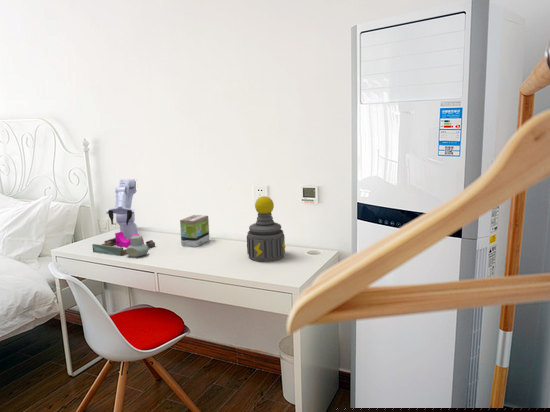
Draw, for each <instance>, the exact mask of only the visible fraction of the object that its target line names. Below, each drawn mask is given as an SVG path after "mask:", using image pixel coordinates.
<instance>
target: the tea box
mask: <svg viewBox="0 0 550 412" xmlns="http://www.w3.org/2000/svg"><path fill="white" fill-rule="evenodd" d="M179 223H180V227H179V228H180V243H181V246H182V247H192V248H196V247H199V246H201V245H202V244H204V243H207V242H208V241H210V224H209V223H210V222H209V215H203V214H200V215H199V214H193V215H190V216H188V217H185V218H182V219H180V220H179Z"/></svg>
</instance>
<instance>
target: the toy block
mask: <svg viewBox="0 0 550 412" xmlns="http://www.w3.org/2000/svg"><path fill="white" fill-rule="evenodd" d="M136 235H140V234H134V235H131V236H130V238H131V237H132V236H136ZM114 238H116V245H115V247H121V248H124V249H127V248H128V246H130V245H131V241H130V239H126V238H125V236H124V234H123V232H120V231H119V232H115V233H114ZM144 241H145V240H143V244H145V243H144Z"/></svg>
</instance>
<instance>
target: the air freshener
mask: <svg viewBox="0 0 550 412" xmlns="http://www.w3.org/2000/svg"><path fill="white" fill-rule="evenodd" d="M130 241H131V245H130V246H128V248H125V249H126V252H127V254H126V255H128V256H130V257H132V258H139V257H143V256H145V255H146V254H148V252H149V250H150V249H149V248H148V246H147V245H146V243H144V244H143V241H144V238H143V235H140V234H139V235H136V236H132V237H131V238H130Z"/></svg>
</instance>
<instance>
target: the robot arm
mask: <svg viewBox="0 0 550 412" xmlns="http://www.w3.org/2000/svg"><path fill="white" fill-rule="evenodd" d="M135 179H136V178H129V179H128V178H127V179H120V180H119V186H117V187H116V188H115V191H114V192H115V206H114V207H112V208H106V211H105V212H106V213H105V214H106V215H107V214H108V217H109V219H110V223H111V225H114V215H115V214H116V215H115V220H116V221H115V222H116V224H118V226H119V232H123V234H124V236H125V237H126V239H130V236H131V235H134V234H138V225H137V224H136V223H135V220H136V218H135V209H134V208H132V202H133V197H134V195H135V194H136V193H137V190H136V181H137V180H136V181H135Z"/></svg>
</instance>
